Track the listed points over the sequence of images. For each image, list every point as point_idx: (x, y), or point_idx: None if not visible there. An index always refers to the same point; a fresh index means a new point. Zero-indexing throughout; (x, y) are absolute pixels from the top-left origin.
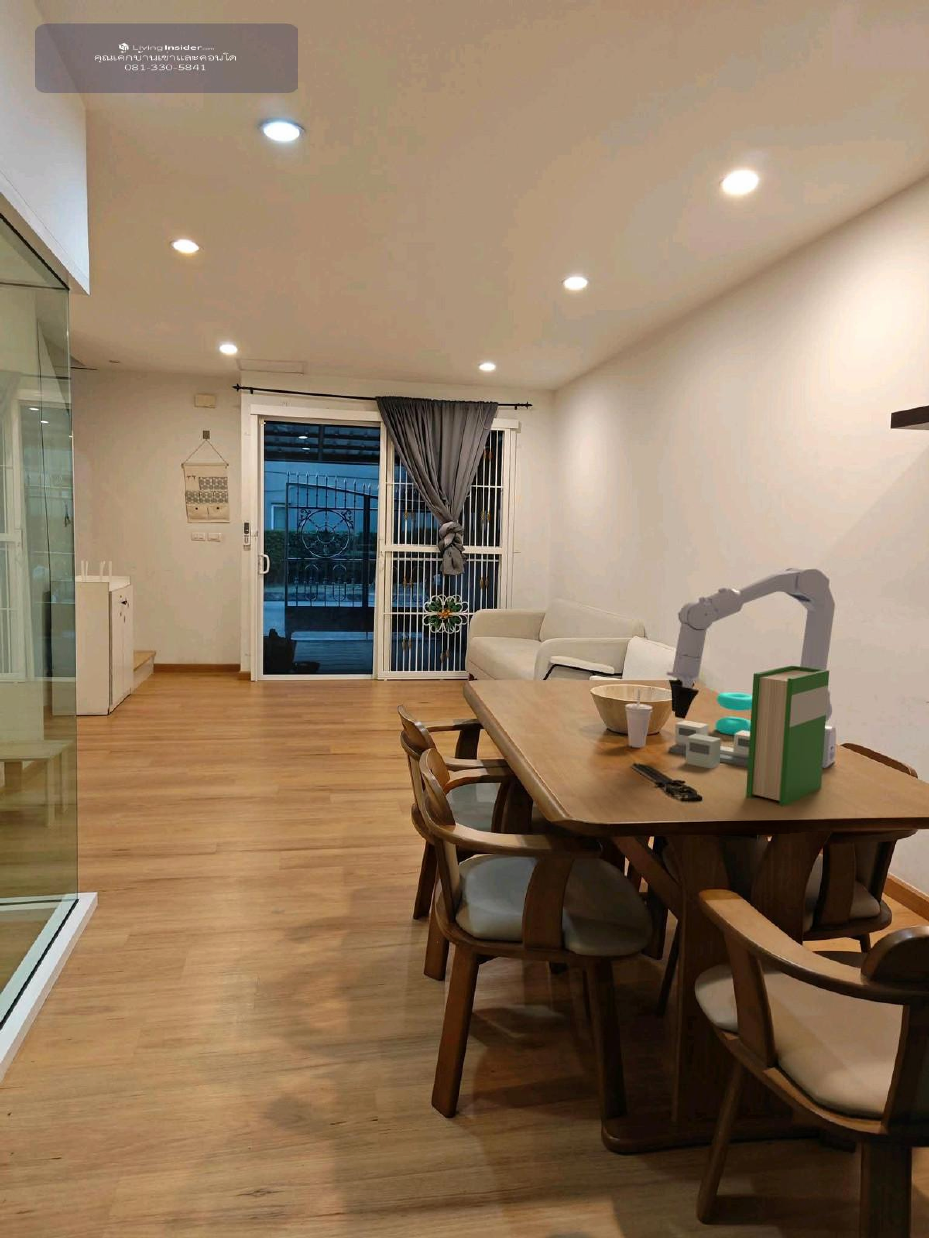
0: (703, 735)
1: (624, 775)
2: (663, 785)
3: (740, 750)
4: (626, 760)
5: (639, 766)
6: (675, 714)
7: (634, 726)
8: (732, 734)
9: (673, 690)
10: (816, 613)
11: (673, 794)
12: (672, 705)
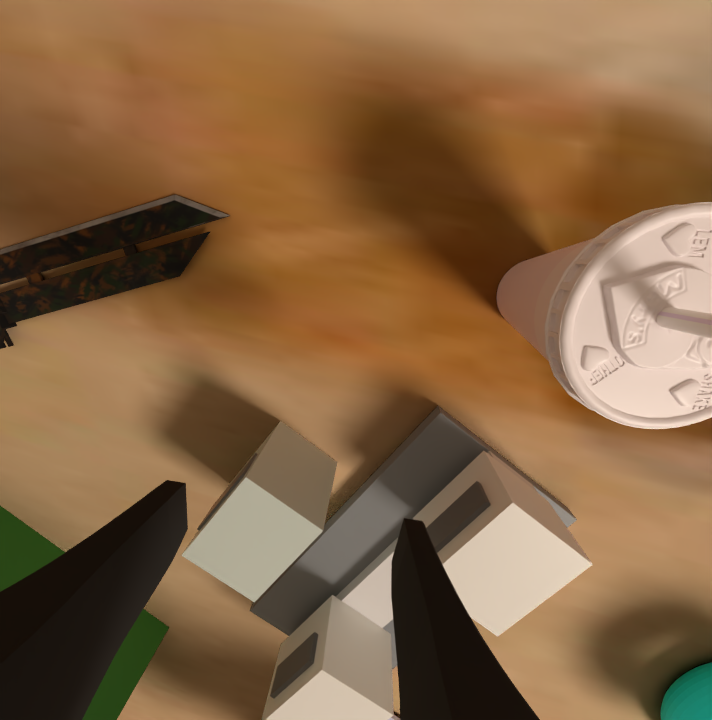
0: (293, 553)
1: (54, 142)
2: None
3: (316, 621)
4: (277, 194)
5: (166, 228)
6: (153, 491)
7: (536, 273)
8: (675, 681)
9: (440, 702)
10: None
11: None
12: (408, 549)
